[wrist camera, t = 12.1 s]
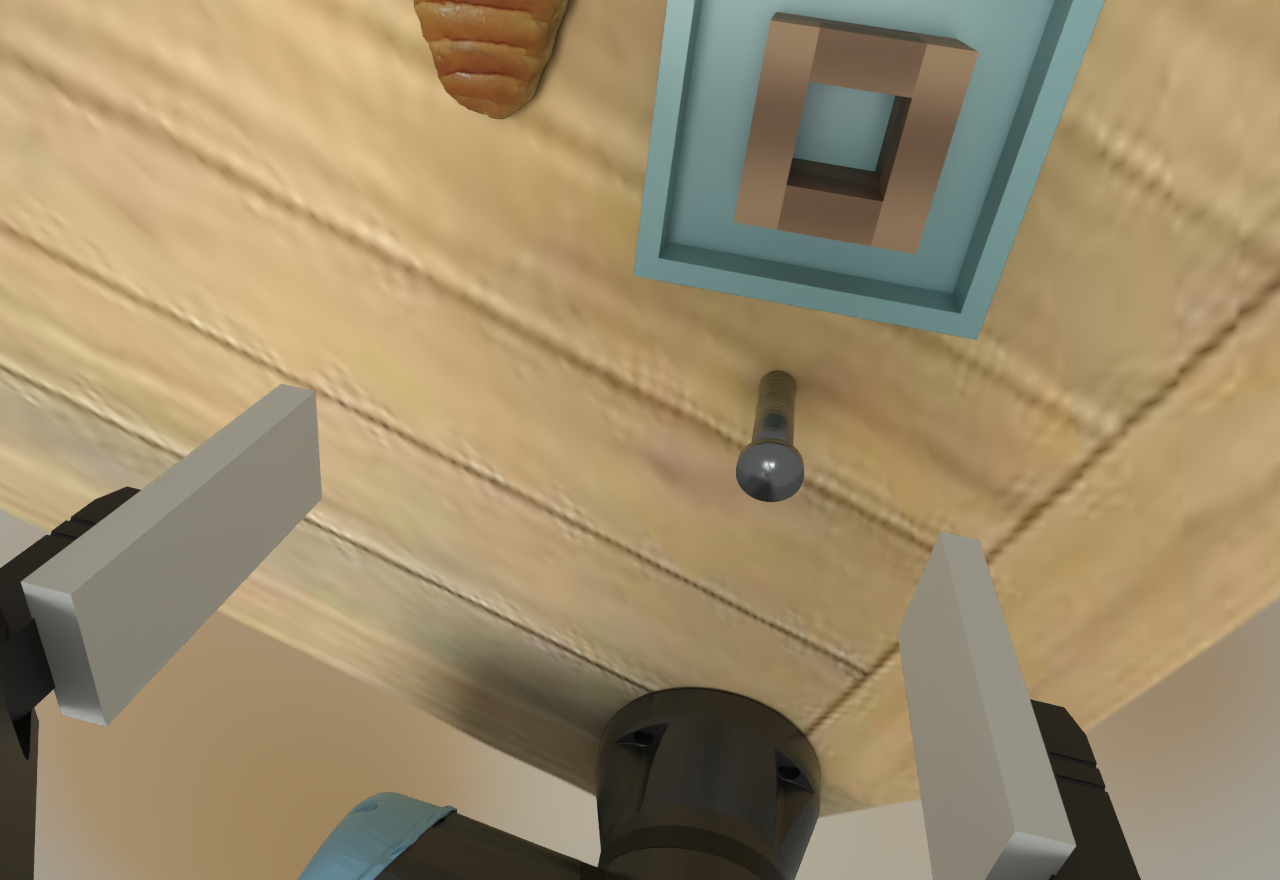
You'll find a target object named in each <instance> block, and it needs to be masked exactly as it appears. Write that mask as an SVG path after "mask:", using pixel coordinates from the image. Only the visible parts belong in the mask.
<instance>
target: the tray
mask: <svg viewBox="0 0 1280 880" xmlns="http://www.w3.org/2000/svg"><path fill="white" fill-rule="evenodd" d="M1104 1H1105V0H668V2H667V10H666V18H665V26H664V34H663V42H662V50H661V58H660V66H659V74H658V82H657V90H656V98H655V106H654V114H653V122H652V130H651V138H650V146H649V154H648V162H647V170H646V178H645V186H644V193H643V201H642V209H641V217H640V225H639V233H638V241H637V249H636V257H635V265H634V273H633V276H637V277H642V278H648V279H653V280H658V281H664V282H669V283H674V284H680V285H685V286H691V287H696V288H701V289H707V290H712V291H717V292H723V293H728V294H733V295H739V296H744V297H749V298H755V299H760V300H766V301H771V302H776V303H782V304H787V305H792V306H798V307H803V308H808V309H814V310H819V311H825V312H830V313H835V314H841V315H846V316H851V317H857V318H862V319H867V320H873V321H878V322H883V323H889V324H894V325H900V326H905V327H910V328H916V329H921V330H926V331H932V332H937V333H942V334H948V335H953V336H959V337H964V338H969V339H975V340H977V338H978V335H979V332H980V330H981V327H982V324H983V322H984V319H985V316H986V314H987V311H988V308H989V306H990V303H991V300H992V298H993V295H994V292H995V290H996V287H997V285H998V282H999V279H1000V277H1001V274H1002V271H1003V269H1004V266H1005V263H1006V261H1007V258H1008V255H1009V253H1010V250H1011V247H1012V245H1013V242H1014V239H1015V237H1016V234H1017V231H1018V229H1019V226H1020V223H1021V221H1022V218H1023V216H1024V213H1025V210H1026V208H1027V205H1028V202H1029V200H1030V197H1031V194H1032V192H1033V189H1034V186H1035V184H1036V181H1037V178H1038V176H1039V173H1040V170H1041V168H1042V165H1043V162H1044V160H1045V157H1046V155H1047V152H1048V149H1049V147H1050V144H1051V141H1052V139H1053V136H1054V133H1055V131H1056V128H1057V125H1058V123H1059V120H1060V117H1061V115H1062V112H1063V109H1064V107H1065V104H1066V101H1067V99H1068V96H1069V93H1070V91H1071V88H1072V86H1073V83H1074V80H1075V78H1076V75H1077V72H1078V70H1079V67H1080V64H1081V62H1082V59H1083V56H1084V54H1085V51H1086V48H1087V46H1088V43H1089V40H1090V38H1091V35H1092V32H1093V30H1094V27H1095V24H1096V22H1097V19H1098V17H1099V14H1100V11H1101V9H1102V6H1103V3H1104ZM776 12H781V13H788V14H794V15H801V16H808V17H814V18H821V19H828V20H834V21H841V22H848V23H854V24H861V25H868V26H874V27H881V28H887V29H894V30H901V31H907V32H914V33H921V34H927V35H934V36H941V37H947V38H954V39H958V40H959V41H961V42H963V43H965V44H966V45H968V46H970V47H971V48H973V49H975V50H976V51H978V52H979V53H978V56H977V59H976V63H975V66H974V69H973V72H972V75H971V79H970V82H969V85H968V88H967V92H966V95H965V98H964V101H963V104H962V108H961V111H960V114H959V117H958V120H957V124H956V127H955V130H954V133H953V137H952V140H951V143H950V146H949V149H948V153H947V156H946V159H945V162H944V165H943V169H942V172H941V175H940V178H939V181H938V185H937V188H936V191H935V194H934V198H933V201H932V204H931V207H930V210H929V214H928V217H927V220H926V223H925V226H924V230H923V233H922V236H921V239H920V242H919V246H918V249H917V252H916V254H911V253H906V252H900V251H894V250H889V249H883V248H877V247H872V246H866V245H860V244H855V243H849V242H843V241H838V240H832V239H826V238H820V237H815V236H809V235H803V234H798V233H792V232H786V231H781V230H775V229H769V228H764V227H758V226H752V225H746V224H741V223H735V222H733V220H734V215H735V209H736V204H737V199H738V193H739V188H740V182H741V177H742V172H743V166H744V161H745V155H746V150H747V144H748V139H749V134H750V128H751V123H752V117H753V112H754V106H755V101H756V96H757V90H758V85H759V79H760V74H761V68H762V63H763V58H764V52H765V47H766V41H767V36H768V30H769V25H770V20H771V19H772V17H773V16H774V14H775V13H776ZM894 99H895V95H890V94H883V93H877V92H871V91H864V90H858V89H852V88H845V87H839V86H833V85H826V84H820V83H814V82H808V87H807V91H806V96H805V101H804V105H803V110H802V115H801V119H800V124H799V129H798V133H797V138H796V143H795V147H794V152H793V157H792V158H797V159H803V160H809V161H815V162H821V163H827V164H833V165H839V166H845V167H851V168H857V169H863V170H869V171H875V169H876V166H877V162H878V158H879V154H880V151H881V147H882V143H883V140H884V136H885V132H886V128H887V125H888V121H889V117H890V114H891V110H892V106H893V102H894Z"/></svg>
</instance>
